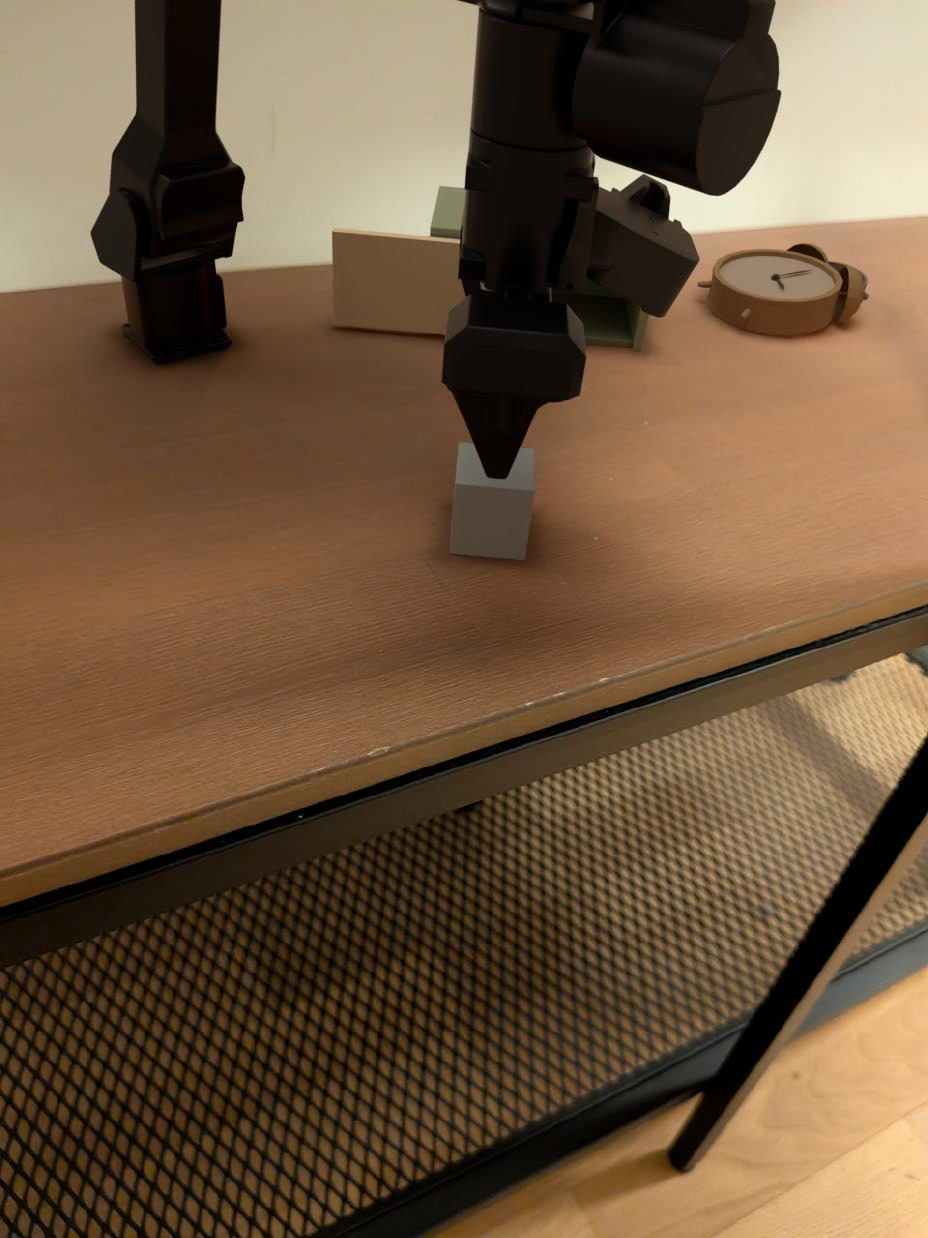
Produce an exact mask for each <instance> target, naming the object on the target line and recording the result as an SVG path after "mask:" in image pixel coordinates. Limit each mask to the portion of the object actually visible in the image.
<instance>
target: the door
mask: <svg viewBox="0 0 928 1238" xmlns="http://www.w3.org/2000/svg"><path fill="white" fill-rule="evenodd" d="M331 252H332V253H331V256H332V257H331V261H332V262H331V263H332V309H333V310H332V312H333V313H332V314H333V315H332V316H333V317H332V318H333V325H335V326H345V327H346V326H347V327H348V326H349V327H357V328H371V329H377V330H390V331H402V332H411V333H423V334H436V335H444V336H445V334H446V327H447V320H448V314H449V311H450V310H452V309H453V308H454V307H455V306H456V305H458V304H459V303H460V302H461V301H463V300H464V299H465V298H466V297H465V293H464V289H463V285H462V281H461V279H458V270H459V257H460V256H459V252H460V239H450V238H439V237H430V235H429V236H428V235H419V234H417V235H415V234H406V233H394V232H385V231H374V230H362V229H354V228H353V229H351V228H341V227H332V230H331Z"/></svg>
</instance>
